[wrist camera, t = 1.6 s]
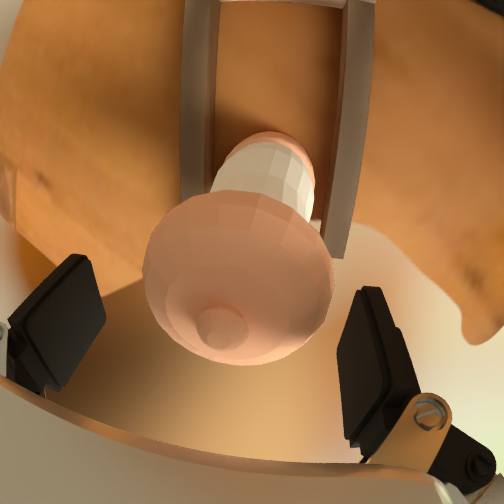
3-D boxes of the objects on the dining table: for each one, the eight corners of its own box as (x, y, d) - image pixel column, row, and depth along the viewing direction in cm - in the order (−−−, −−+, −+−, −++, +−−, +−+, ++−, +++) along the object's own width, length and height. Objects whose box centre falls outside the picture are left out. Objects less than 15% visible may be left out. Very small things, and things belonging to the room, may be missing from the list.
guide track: (365, -10, 15) (380, -30, 11) (338, 242, 27) (346, 271, 23) (199, -19, 16) (180, -39, 12) (193, 227, 28) (175, 252, 24)
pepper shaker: (213, 183, 26) (92, 339, 9) (256, 114, 22) (154, 163, 6) (281, 225, 27) (256, 422, 11) (329, 163, 24) (400, 321, 7)
